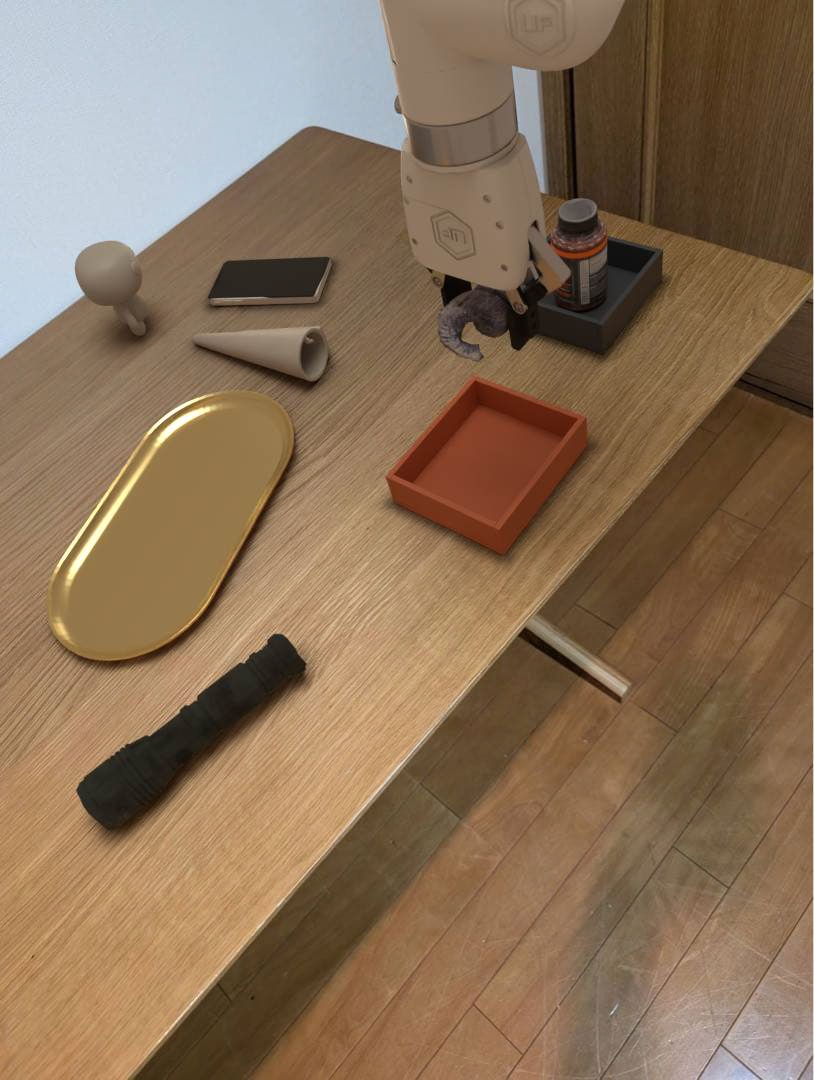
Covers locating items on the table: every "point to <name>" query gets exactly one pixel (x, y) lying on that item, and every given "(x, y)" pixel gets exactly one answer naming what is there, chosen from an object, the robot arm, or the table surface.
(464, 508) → the terracotta bin
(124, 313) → the figurine
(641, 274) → the slate bin
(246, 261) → the smartphone
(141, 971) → the table surface
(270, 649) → the flashlight
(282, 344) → the long tapered cone
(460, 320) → the grey curved ribbed piece
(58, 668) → the table surface
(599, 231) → the supplement bottle
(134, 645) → the serving platter
